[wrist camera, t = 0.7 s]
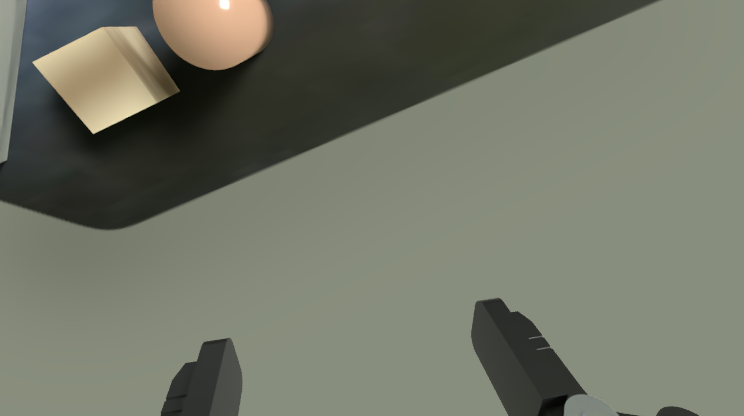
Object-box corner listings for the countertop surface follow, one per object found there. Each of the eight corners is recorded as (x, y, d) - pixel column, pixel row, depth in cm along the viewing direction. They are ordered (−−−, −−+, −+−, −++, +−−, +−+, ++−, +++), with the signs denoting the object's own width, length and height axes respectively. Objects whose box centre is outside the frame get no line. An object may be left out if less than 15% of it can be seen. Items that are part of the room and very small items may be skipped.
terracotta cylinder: (190, 17, 26) (131, 12, 18) (235, -36, 25) (195, -68, 17) (244, 70, 29) (216, 89, 20) (287, 23, 28) (278, 22, 19)
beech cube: (180, 90, 29) (157, 102, 24) (126, 117, 29) (93, 134, 24) (137, 26, 26) (102, 27, 22) (78, 56, 27) (32, 62, 22)
